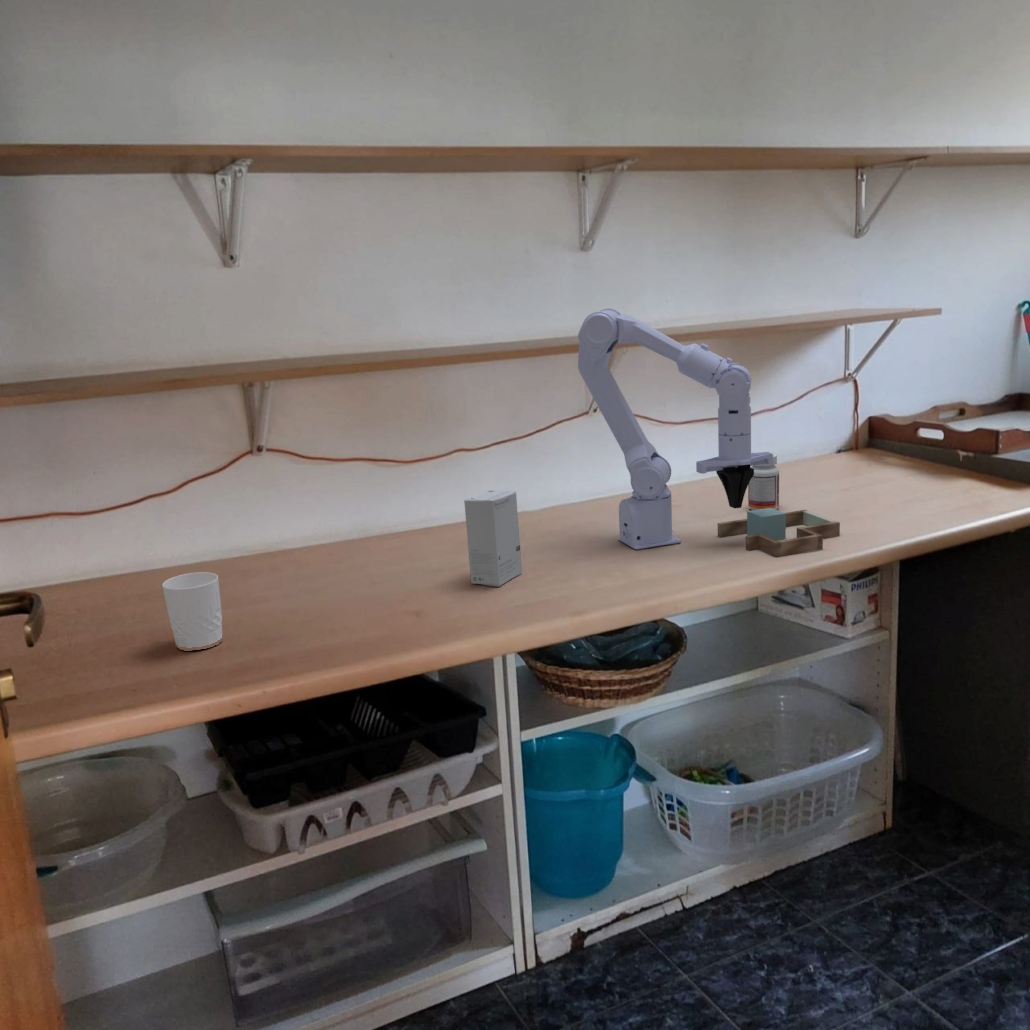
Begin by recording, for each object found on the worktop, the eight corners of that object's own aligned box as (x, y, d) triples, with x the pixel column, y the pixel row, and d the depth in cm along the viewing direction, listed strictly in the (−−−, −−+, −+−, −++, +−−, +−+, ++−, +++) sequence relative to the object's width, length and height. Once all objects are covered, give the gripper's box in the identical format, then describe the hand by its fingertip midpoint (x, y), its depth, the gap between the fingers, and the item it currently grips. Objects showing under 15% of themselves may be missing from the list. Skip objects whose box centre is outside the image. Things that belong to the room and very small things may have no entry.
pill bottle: (760, 503, 205) (760, 450, 202) (785, 508, 200) (785, 454, 197) (742, 509, 201) (741, 455, 198) (766, 514, 196) (766, 459, 193)
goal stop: (831, 535, 179) (831, 522, 178) (803, 524, 187) (803, 511, 187) (836, 534, 179) (836, 521, 179) (807, 523, 188) (807, 510, 187)
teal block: (761, 543, 177) (761, 517, 176) (747, 537, 182) (747, 511, 180) (785, 539, 178) (785, 513, 177) (770, 533, 183) (770, 507, 182)
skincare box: (499, 588, 162) (493, 501, 158) (468, 584, 165) (462, 499, 161) (523, 573, 169) (518, 489, 165) (493, 569, 172) (488, 487, 168)
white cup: (232, 632, 149) (224, 570, 147) (219, 651, 142) (210, 586, 139) (181, 635, 149) (171, 573, 147) (165, 655, 141) (154, 590, 139)
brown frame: (765, 558, 168) (765, 544, 167) (717, 535, 183) (717, 523, 183) (858, 543, 173) (859, 529, 173) (804, 522, 189) (804, 509, 188)
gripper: (709, 441, 167) (710, 517, 171) (782, 431, 171) (782, 506, 175) (690, 435, 174) (691, 508, 177) (760, 426, 178) (761, 498, 181)
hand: (735, 507), depth 177 cm, fingers closed
